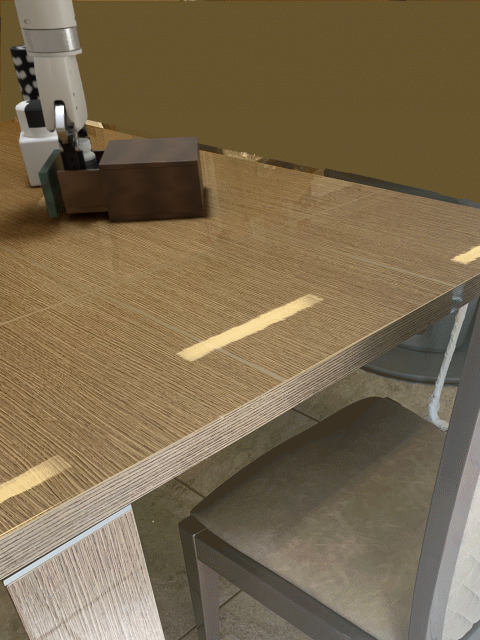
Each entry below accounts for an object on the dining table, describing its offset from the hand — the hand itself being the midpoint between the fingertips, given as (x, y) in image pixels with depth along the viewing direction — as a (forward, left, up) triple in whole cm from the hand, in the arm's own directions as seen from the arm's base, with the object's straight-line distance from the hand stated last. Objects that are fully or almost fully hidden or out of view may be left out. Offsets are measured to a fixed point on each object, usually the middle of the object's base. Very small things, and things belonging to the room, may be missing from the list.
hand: (81, 170), depth 102 cm
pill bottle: (0, 0, -4) cm, 4 cm away
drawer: (+1, 0, -5) cm, 5 cm away
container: (-9, +17, -6) cm, 20 cm away
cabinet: (+11, 0, -6) cm, 13 cm away
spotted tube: (-9, +27, -6) cm, 29 cm away
